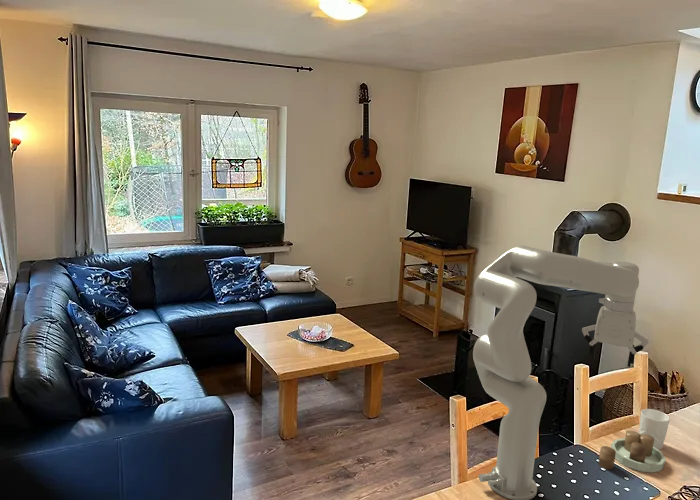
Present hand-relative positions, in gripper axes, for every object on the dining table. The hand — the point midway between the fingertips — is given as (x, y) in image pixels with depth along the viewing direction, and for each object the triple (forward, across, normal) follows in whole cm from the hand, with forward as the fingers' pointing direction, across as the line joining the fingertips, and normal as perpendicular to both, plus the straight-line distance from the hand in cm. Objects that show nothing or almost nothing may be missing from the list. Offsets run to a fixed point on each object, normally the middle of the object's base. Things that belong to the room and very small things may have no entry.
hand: (610, 361), depth 154 cm
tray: (+30, +11, +5) cm, 32 cm away
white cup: (+31, +14, +17) cm, 38 cm away
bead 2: (+29, +10, +1) cm, 31 cm away
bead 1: (+30, +3, -4) cm, 31 cm away
